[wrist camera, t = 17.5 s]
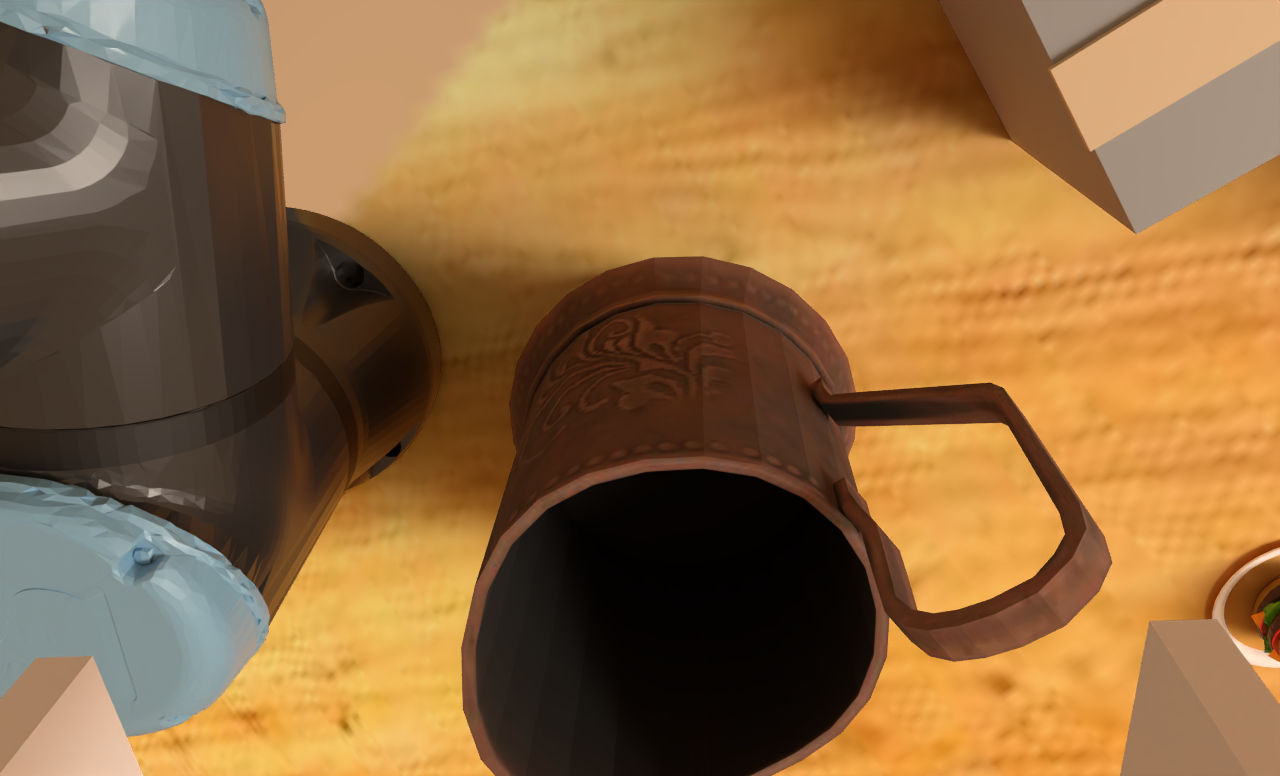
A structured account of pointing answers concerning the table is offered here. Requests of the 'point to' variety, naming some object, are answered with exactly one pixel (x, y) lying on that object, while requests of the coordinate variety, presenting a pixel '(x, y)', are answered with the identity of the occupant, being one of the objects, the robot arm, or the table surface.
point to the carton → (1131, 92)
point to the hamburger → (1257, 615)
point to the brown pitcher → (711, 537)
